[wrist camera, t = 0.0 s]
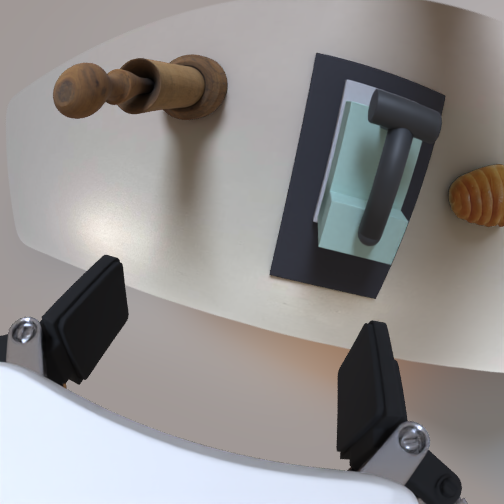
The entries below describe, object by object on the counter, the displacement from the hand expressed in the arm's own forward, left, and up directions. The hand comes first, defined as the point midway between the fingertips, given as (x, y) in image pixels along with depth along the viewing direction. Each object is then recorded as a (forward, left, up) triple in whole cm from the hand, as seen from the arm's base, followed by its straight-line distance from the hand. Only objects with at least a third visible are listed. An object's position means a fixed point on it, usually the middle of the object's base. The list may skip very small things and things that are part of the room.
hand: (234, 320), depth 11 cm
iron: (-3, +7, -20) cm, 22 cm away
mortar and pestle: (-7, -10, -21) cm, 25 cm away
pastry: (-5, +22, -21) cm, 31 cm away
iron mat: (-1, +7, -21) cm, 22 cm away
